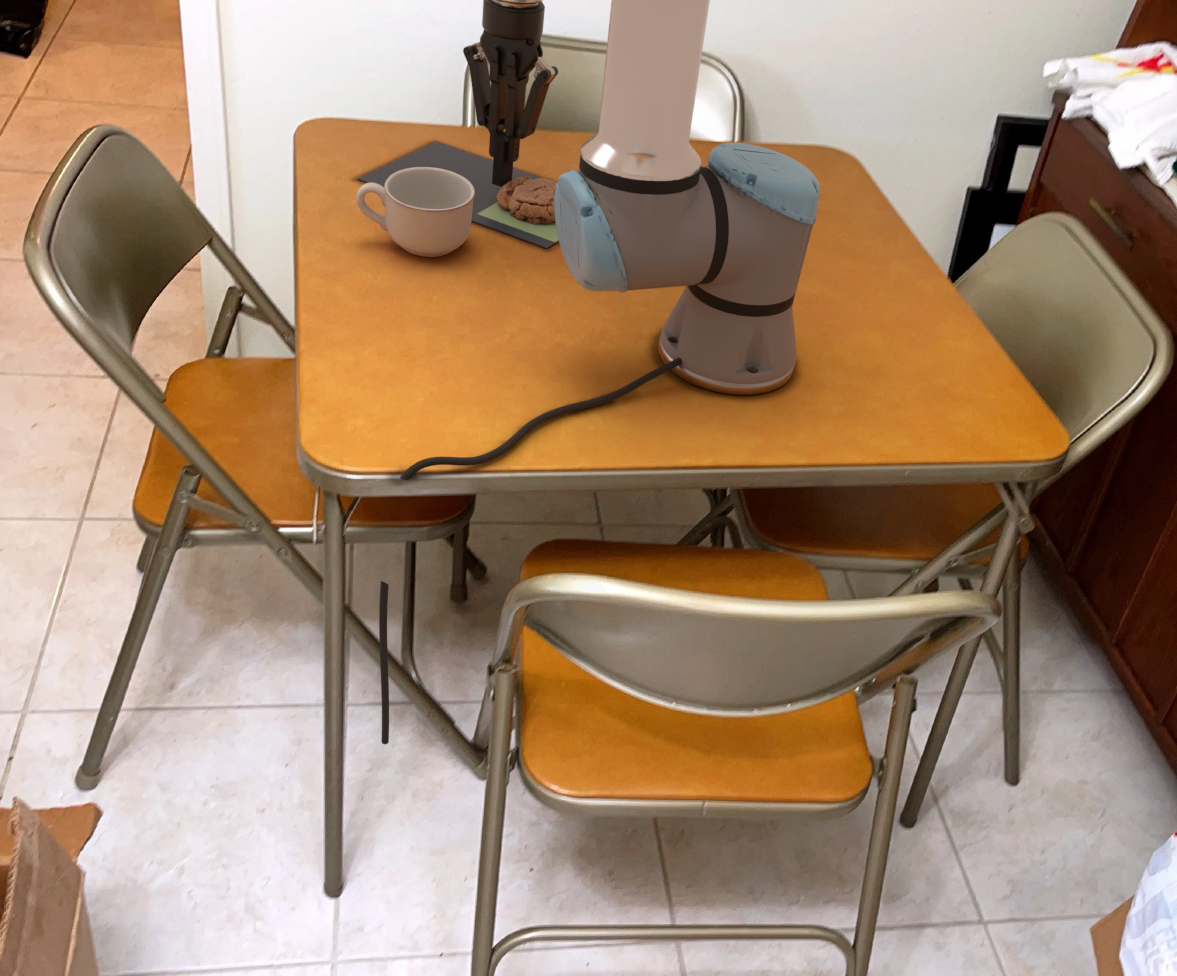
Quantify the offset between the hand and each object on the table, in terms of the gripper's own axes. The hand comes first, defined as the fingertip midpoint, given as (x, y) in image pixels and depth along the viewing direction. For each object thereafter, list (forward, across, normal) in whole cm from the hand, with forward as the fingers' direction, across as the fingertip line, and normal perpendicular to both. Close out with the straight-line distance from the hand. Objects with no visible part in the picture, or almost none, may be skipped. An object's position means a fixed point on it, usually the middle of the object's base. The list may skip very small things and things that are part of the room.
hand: (501, 182), depth 151 cm
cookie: (+2, -6, 0) cm, 6 cm away
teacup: (+2, 0, +19) cm, 19 cm away
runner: (+2, +2, 0) cm, 3 cm away
